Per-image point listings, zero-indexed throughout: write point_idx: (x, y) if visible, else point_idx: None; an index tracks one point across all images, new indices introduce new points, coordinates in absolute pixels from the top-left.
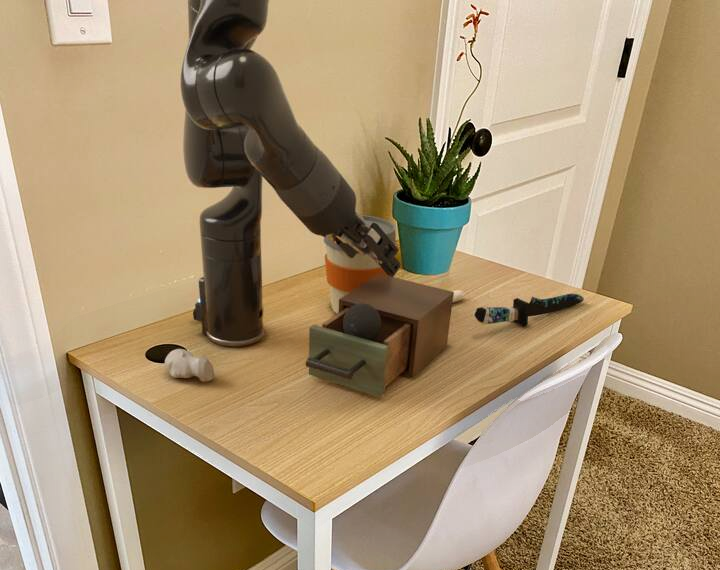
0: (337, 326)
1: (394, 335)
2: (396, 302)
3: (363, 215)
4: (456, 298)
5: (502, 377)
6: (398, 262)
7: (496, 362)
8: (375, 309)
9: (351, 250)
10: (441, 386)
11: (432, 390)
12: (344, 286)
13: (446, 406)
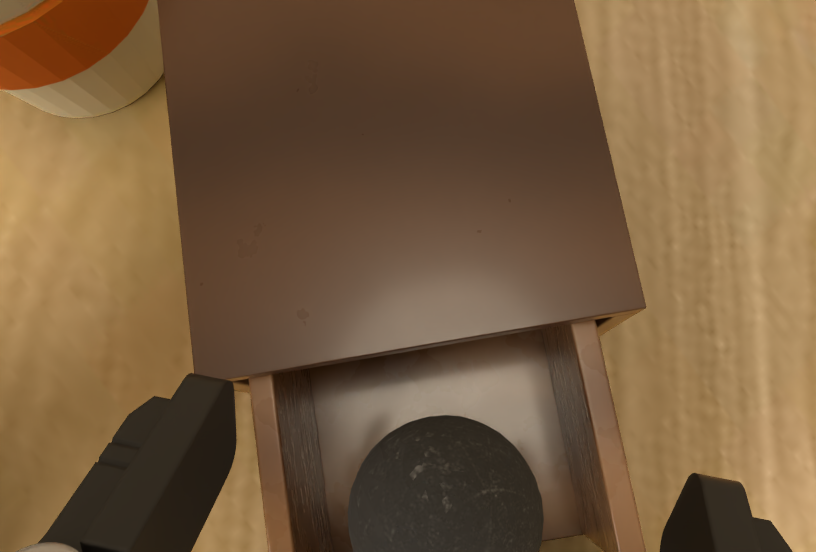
0: (299, 500)
1: (619, 474)
2: (432, 208)
3: None
4: None
5: (809, 112)
6: (748, 516)
7: (725, 33)
8: (490, 467)
9: (210, 474)
10: (700, 320)
11: (696, 368)
12: (33, 76)
13: (806, 433)
